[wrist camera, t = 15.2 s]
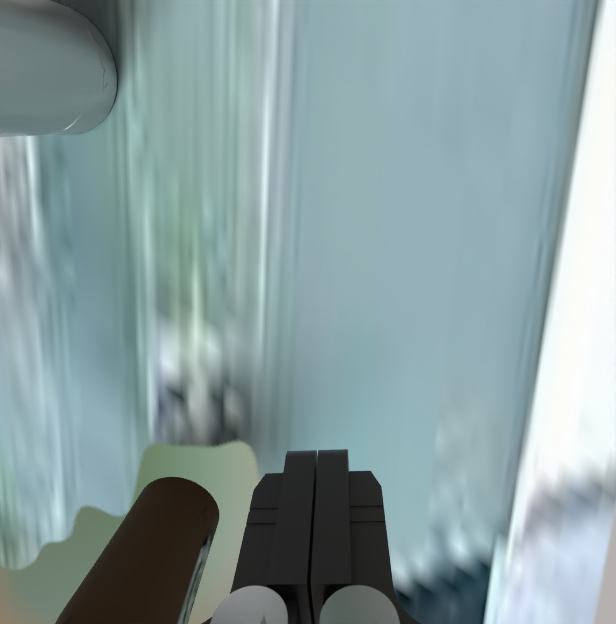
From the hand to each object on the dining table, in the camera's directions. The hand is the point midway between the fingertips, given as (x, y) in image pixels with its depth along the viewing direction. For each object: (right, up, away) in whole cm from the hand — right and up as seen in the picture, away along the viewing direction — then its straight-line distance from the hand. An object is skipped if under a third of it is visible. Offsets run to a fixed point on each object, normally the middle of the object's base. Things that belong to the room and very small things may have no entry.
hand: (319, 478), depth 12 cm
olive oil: (-15, -18, +42) cm, 48 cm away
